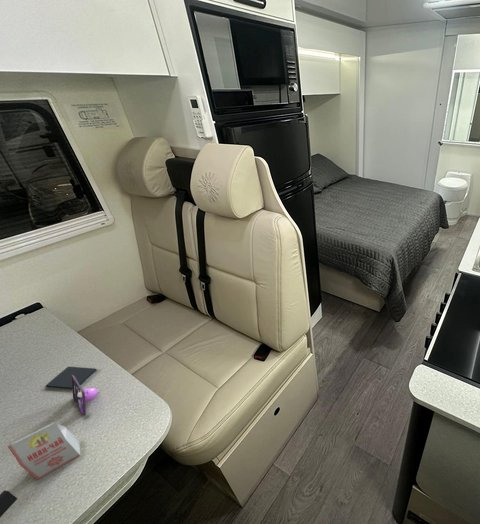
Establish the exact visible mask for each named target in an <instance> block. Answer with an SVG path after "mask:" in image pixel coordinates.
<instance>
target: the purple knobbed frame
mask: <svg viewBox="0 0 480 524" xmlns="http://www.w3.org/2000/svg"><path fill="white" fill-rule="evenodd" d="M71 390H72V398H73V399H72V400H74V402H75V403H76V405H77V407H78V409H79V411H80V412H81V414H82V416H83V417H86V415H87V413H86V411H87V410H86V403H88V402H91V401H93V400H94V399H95V398H96V397H97V396H98V394H99V393H100V390H98V389H97V388H95V387H92V386H91V387H90V388H86V387H84V389H83V387H82V385H80V384H79V383H78V381H77V379H76V378H75V376H74V375H72V389H71Z"/></svg>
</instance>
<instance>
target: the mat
mask: <svg viewBox="0 0 480 524" xmlns="http://www.w3.org/2000/svg"><path fill="white" fill-rule="evenodd" d="M97 370H98V369H97V368H92V367H79V366H67V367H65V369H64V370H63V371H61V372H60V373H59V374H58V375H56V376H55V377H54V378H52V379H51V380H50V381H49V382H48V383H46V385H45V387H46V388H54V389H55V388H56V389H67V390H72V375H74V376H75V378H76V379H77V381H78V383H79V384H80V386H82V385H83V383H85V381H87V380H88V379H89V378H90V377H91V376H92V375H93V374H94V373H95V372H97Z"/></svg>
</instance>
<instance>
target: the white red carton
mask: <svg viewBox="0 0 480 524" xmlns="http://www.w3.org/2000/svg"><path fill="white" fill-rule="evenodd" d="M80 448H81V445H80V442H79V440H78V439H77V438H76V437H75V436H74V435H73V433H71V431H70V430H69V429H68V428H67V427H66V426H64V425H62V424H60V423H58V422H57V421H53V422H52V423H51V422H50V424H47V425H45V426H44V427H41V428H40V429H38V430H35V431H34V432H31V433H30V434H28V435H26V436H24V437H22V438H20V439H18V440H16V441H14V442H12V443H10V444H8V445H7V449H9V451H10V453H11V454H12V456H13V457H14V458H15V460H16V462H17V463H18V465H19V466H20V467H21V468H22V469H23V470H25V471H26V472H27V473H28V474H29V475H30V476H31V477H32V478H34V479H35V480H36V481H38V480H41V479H42V478H44V477H46V476H48V475H49V474H51V473H52V472H54V471H56V470H57V469H59V468H61V467H63V466H64V465H67V464H68V463H70V462H71V461H73V460H75V459H77V458H78V457H80V456H81V449H80Z"/></svg>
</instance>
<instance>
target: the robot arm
mask: <svg viewBox="0 0 480 524" xmlns="http://www.w3.org/2000/svg"><path fill="white" fill-rule="evenodd" d="M17 500H18V497H17V496H15V495H14V494H13V493H12V492H10V491H9V490H5V489H4V490H2V492H1V493H0V518H1V517H2V516H3V515H5V513H6V512H7V511H8V510H9V509H10V508H11V507H12V506H13V505H14V504H15V502H16V501H17Z"/></svg>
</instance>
